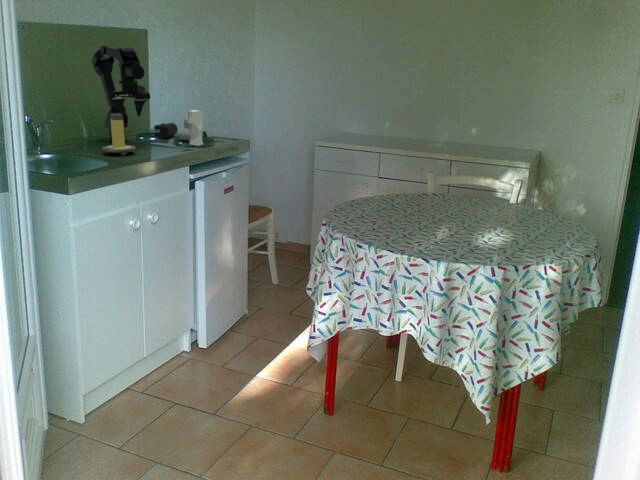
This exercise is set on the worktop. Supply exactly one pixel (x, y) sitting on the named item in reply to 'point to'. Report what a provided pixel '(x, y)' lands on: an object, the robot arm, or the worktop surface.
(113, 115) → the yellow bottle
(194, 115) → the beer glass
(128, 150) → the levelling base
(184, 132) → the air freshener
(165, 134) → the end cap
